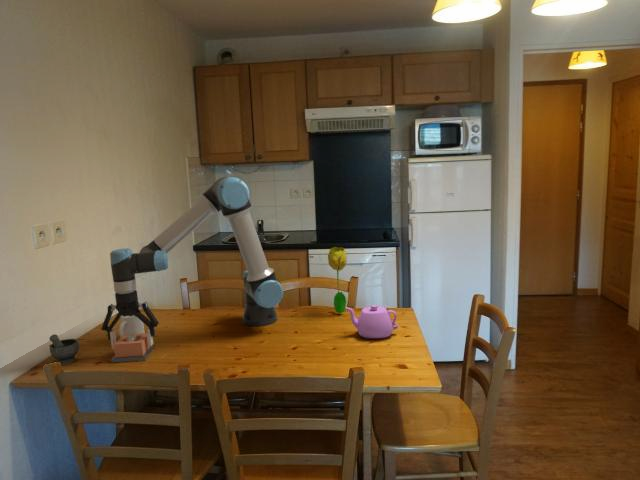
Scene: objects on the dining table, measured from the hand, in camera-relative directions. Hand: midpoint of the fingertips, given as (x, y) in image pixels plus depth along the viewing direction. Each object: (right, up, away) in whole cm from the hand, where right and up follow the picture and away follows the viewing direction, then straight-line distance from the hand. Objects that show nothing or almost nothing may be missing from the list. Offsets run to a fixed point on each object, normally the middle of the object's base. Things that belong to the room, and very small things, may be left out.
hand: (132, 346), depth 180 cm
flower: (+79, +6, +33) cm, 86 cm away
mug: (-7, -1, +17) cm, 18 cm away
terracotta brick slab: (0, -2, 0) cm, 2 cm away
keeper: (0, -3, +1) cm, 4 cm away
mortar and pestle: (-24, -6, -2) cm, 25 cm away
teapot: (+90, +3, +7) cm, 90 cm away
